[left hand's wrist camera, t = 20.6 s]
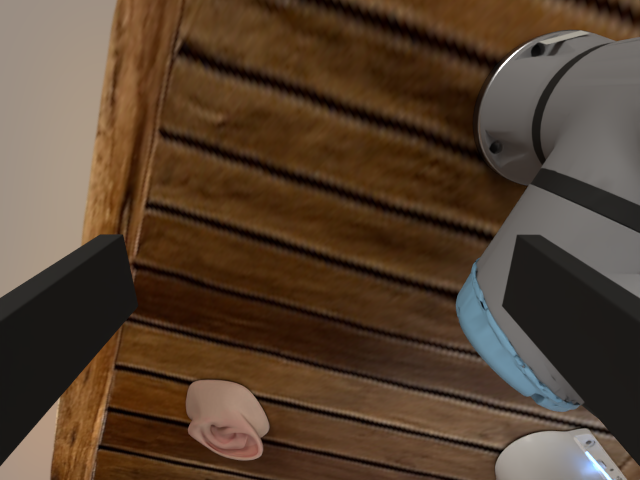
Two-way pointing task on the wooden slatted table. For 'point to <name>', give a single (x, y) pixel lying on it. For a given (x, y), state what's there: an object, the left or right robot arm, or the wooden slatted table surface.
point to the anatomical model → (226, 419)
